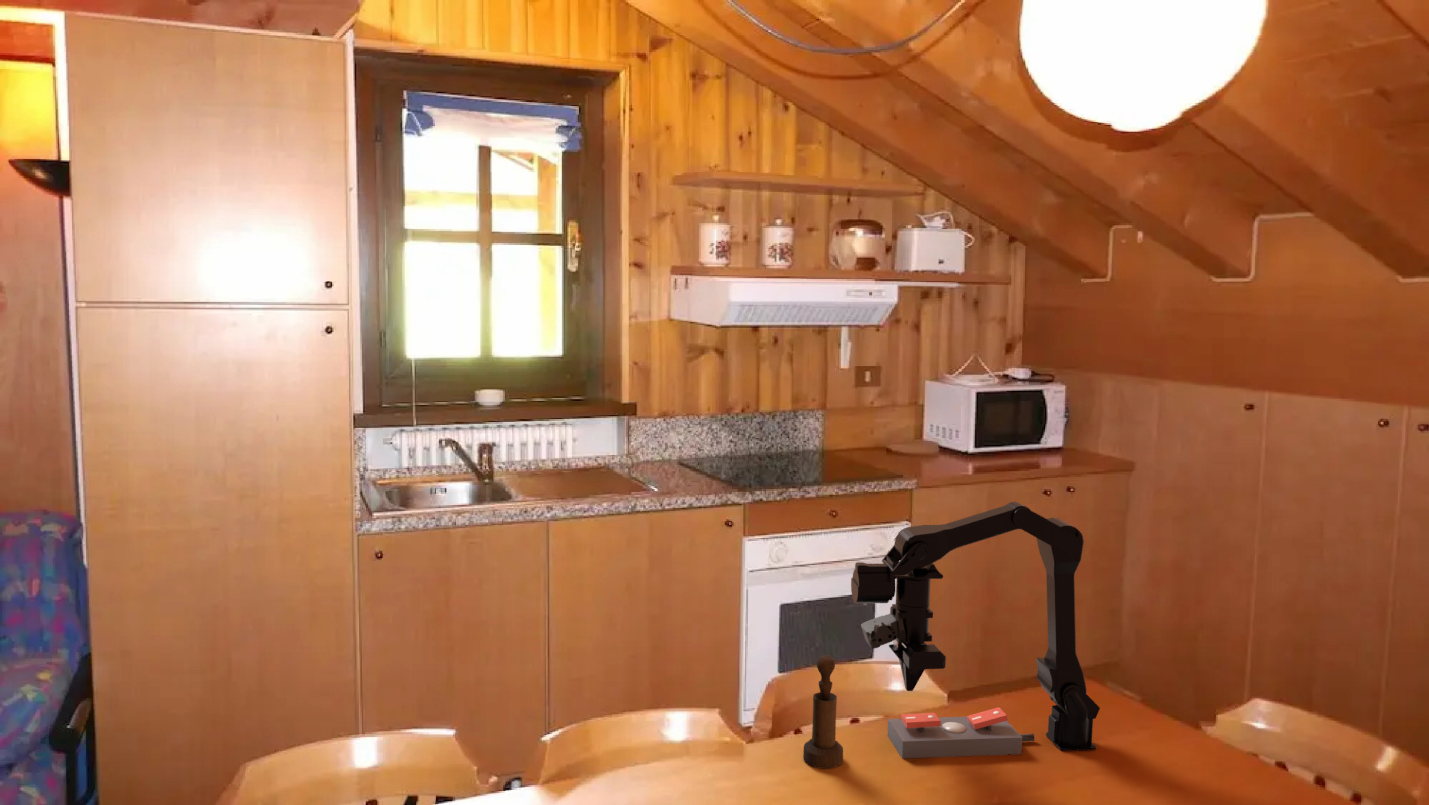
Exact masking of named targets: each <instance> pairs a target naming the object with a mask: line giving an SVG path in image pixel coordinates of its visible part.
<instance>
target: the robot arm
mask: <svg viewBox="0 0 1429 805" xmlns="http://www.w3.org/2000/svg"><path fill="white" fill-rule="evenodd" d="M1016 530H1022V531H1023V532H1025V533H1026V534H1027V533H1028V534H1029V535H1031V536H1033V537H1034V538H1036V542H1037V548H1038V551H1039V555H1040V558H1041V561H1042V562H1043V563H1042V564H1043V566H1044V568H1045V571H1046V572H1045V573H1046V606H1047V607H1046V610H1047V611H1046V612H1047V641H1048V642H1047V651H1046V653H1045V655H1044V657H1036V665H1037V674H1036V676H1035V679H1036V680H1037V681H1038V682H1040V686H1041V688H1042V689H1043V690H1044V691H1045V692H1046V693H1047V694H1048V695H1049V699H1050V700H1051V701H1052V702H1053V703H1054V704H1055V705H1052V706H1051V713H1050V714H1049V715H1048V723H1047V724H1048V725H1047V726H1048V727H1047V732H1046V733H1045V736H1046V737H1047V738H1048V739H1049V740H1050V742H1052V743H1053V744H1054V745H1055V747H1056V748H1057V749H1059V750H1060V751H1062V752H1068V751H1071V752H1072V751H1094V750H1097V746H1096V745H1095V743H1093V731H1094V730H1093V728H1094V720H1095V719H1096V718H1097V716H1098V714H1099V712H1100V706H1099V705H1098V704H1097V703H1096V702H1095V701H1094V700H1093V699H1092V698H1091V696H1089V695H1088V694H1087V693H1088V692H1087V690H1088V689H1087V685H1086V684H1087V683H1086V679H1085V674H1084V671H1083V668H1082V666H1081V663H1080V661H1079V658H1078V656H1077V655H1078V654H1077V640H1076V639H1077V636H1076V632H1077V631H1076V629H1077V628H1076V597H1075V596H1076V593H1075V592H1076V589H1075V587H1076V586H1075V584H1076V583H1075V577H1076V572H1077V570H1078V567H1079V565H1080V564H1081V562H1082V556H1083V550H1084V545H1085V544H1084V541H1085V540H1084V536H1083V534H1082V532H1081V531H1080V530H1079V529H1078V528H1077V527H1075V526H1074V525H1072V524H1070V523H1069V522H1066V521H1064V519H1063V520H1062V519H1060V518H1058V517H1049V518H1046V517H1044V516H1042V515H1041V514H1040V513H1039V514H1038V513H1037V512H1035V511H1033V510H1031V509H1030V508H1029V507H1027V506H1026V505H1024V504H1022V503H1021V502H1019V501H1010V502H1009V503H1007V504H1005V505H1002V506H1000V507H996V508H993V509H989V510H987V511H982V512H981V513H977V514H973V515H970V516H967V517H963V518H961V519H958V520H953V521H951V522H947V523H944V524H943V523H942V524H923V525H914V526H913V525H912V526H907V527H904V528H903V529H900V530H899V532H897V535H896V537H895V538H894V539H895V541H894V544H893V545H892V547H891V548H890V549H889V551H888V552H887V554H885V555H884V557H883V558H882V560H881V563H866V562H863V561H862V562H860V561H859V562H856V563H855V564H854V570H853V572H852V577H851V579H850V588H851V589H850V590H851V598H852V602H853V603H854V604H888V603H889V602H890V601H892V600H893V598H894V597H895V603H894V604H893V603H892V604H891V606H890V607H889V608H890V610H889V611H890V612H889V613H888V614H885V615H880V616H878V617H874V618H872V619H870V620H867V621H864V622H862V623H861V624H860V627H861V631H862V633H863V636H864V640H865V643H867V644H868V645H869V648H870V649H878V648H880V647H881V646H884V645H886V644H888V647H889V649H890V650H891V651H892V652H893V654H895V656H896V657H897V658H898V661H899V665H900V670H901V675H902V678H903V680H902V681H903V683H904V688H905V690H906V691H907V692H913V691H914V689H915V687H916V686H917V684H918V682H919V681H920V679H921V677H922V676H923V673H924V672H925V670H944V669H945V668H946V662H947V661H946V660H947V658H946V655H945V654H944V653H943V652H942V651H941V650H940V649H939V648H938V647H937V646H936V645H935V644H928V643H929V642H933V635H932V634H931V633H930V632H929V628H930V627H929V626H930V619H933V618H934V612H933V611H932V609H930V601H931V600H930V598H931V580H938V579H939V580H941V579H943V578H944V574H943V573H941V571H939V569H937V567H936V565H935V564H934V563H936V562H937V561H939V560H942V559H943V558H944V557H946V556H947V555H948V554H950V553H951V551H954V550H956V549H958V548H962V547H964V546H968V545H971V544H974V543H977V542H981V541H985V540H987V539H990V538H994V537H997V536H1000V535H1004V534H1006V533H1010V532H1013V531H1016ZM892 642H893V644H889V643H892ZM927 642H928V643H927Z"/></svg>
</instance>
